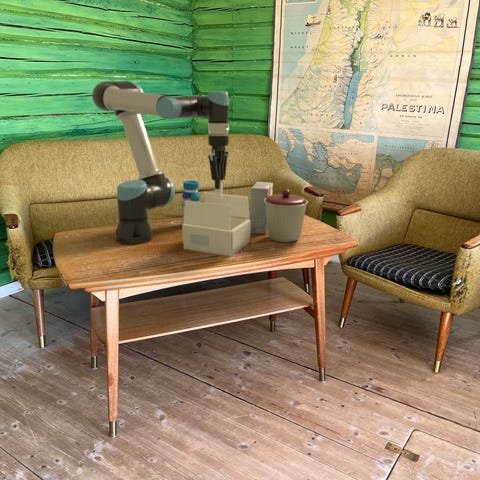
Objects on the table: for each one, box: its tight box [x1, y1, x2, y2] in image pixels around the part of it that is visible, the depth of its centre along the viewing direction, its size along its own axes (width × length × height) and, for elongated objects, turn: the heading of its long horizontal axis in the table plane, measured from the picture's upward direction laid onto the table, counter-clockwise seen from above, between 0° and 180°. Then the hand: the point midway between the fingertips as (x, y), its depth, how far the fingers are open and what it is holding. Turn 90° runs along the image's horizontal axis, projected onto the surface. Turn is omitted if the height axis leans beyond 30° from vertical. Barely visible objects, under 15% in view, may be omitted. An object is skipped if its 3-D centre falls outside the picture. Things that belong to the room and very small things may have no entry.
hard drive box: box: [249, 181, 274, 235], centre depth 213 cm, size 16×8×20 cm, turn 168°
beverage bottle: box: [181, 180, 201, 220], centre depth 216 cm, size 8×8×20 cm
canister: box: [264, 188, 309, 243], centre depth 200 cm, size 18×18×21 cm
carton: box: [181, 216, 251, 258], centre depth 191 cm, size 22×18×10 cm
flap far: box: [203, 191, 250, 219], centre depth 195 cm, size 19×9×1 cm
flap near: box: [182, 200, 232, 230], centre depth 180 cm, size 19×9×1 cm
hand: (218, 196), depth 187 cm, fingers closed
